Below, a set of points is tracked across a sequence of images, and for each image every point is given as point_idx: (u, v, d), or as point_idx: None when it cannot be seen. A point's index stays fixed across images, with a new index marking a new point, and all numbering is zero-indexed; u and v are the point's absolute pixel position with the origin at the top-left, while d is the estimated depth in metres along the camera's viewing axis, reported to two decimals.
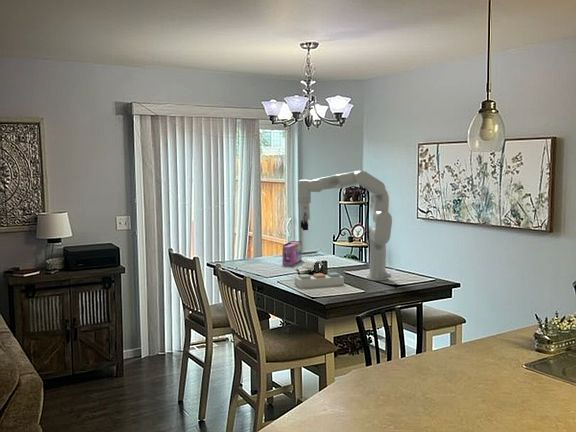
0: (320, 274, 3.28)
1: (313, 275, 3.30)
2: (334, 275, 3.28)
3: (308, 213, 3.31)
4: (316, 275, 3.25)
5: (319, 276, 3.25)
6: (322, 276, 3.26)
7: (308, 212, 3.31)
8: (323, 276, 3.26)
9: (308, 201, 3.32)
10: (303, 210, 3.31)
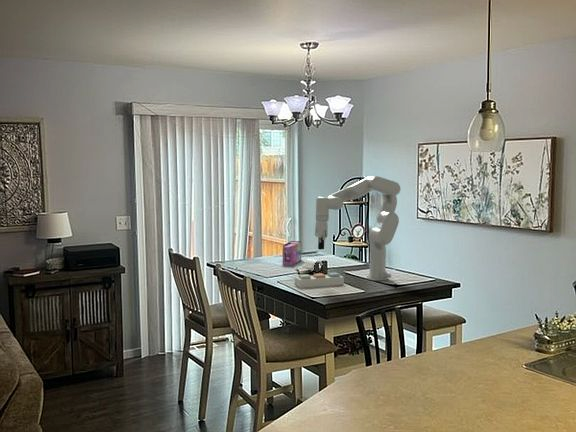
0: (320, 274, 3.28)
1: (313, 275, 3.30)
2: (334, 275, 3.28)
3: None
4: (316, 275, 3.25)
5: (319, 276, 3.25)
6: (322, 276, 3.26)
7: None
8: (323, 276, 3.26)
9: None
10: None
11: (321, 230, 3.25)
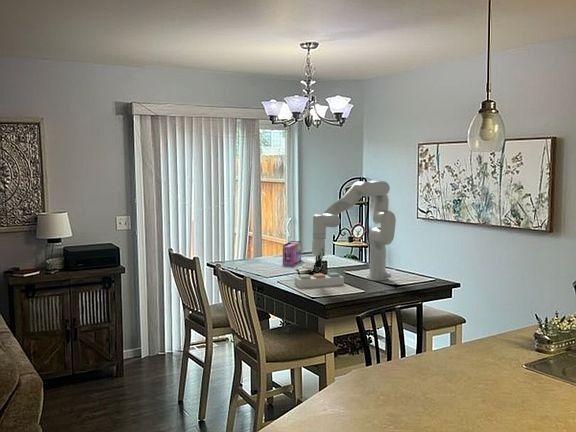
0: (320, 274, 3.28)
1: (313, 275, 3.30)
2: (334, 275, 3.28)
3: None
4: (316, 275, 3.25)
5: (319, 276, 3.25)
6: (322, 276, 3.26)
7: None
8: (323, 276, 3.26)
9: None
10: None
11: (318, 248, 3.21)
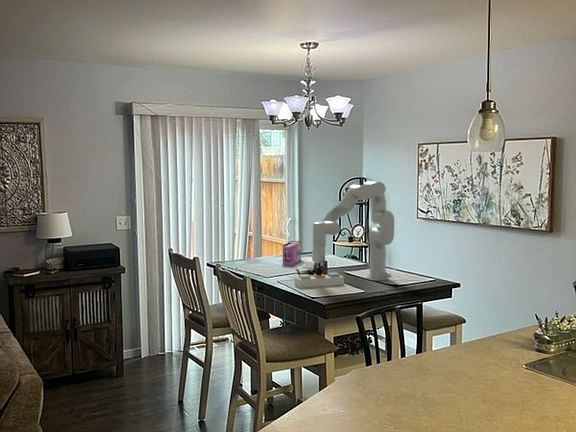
0: None
1: (313, 275, 3.30)
2: (334, 275, 3.28)
3: None
4: (316, 275, 3.25)
5: (319, 276, 3.25)
6: (322, 276, 3.26)
7: None
8: (323, 276, 3.26)
9: None
10: None
11: (319, 256, 3.22)
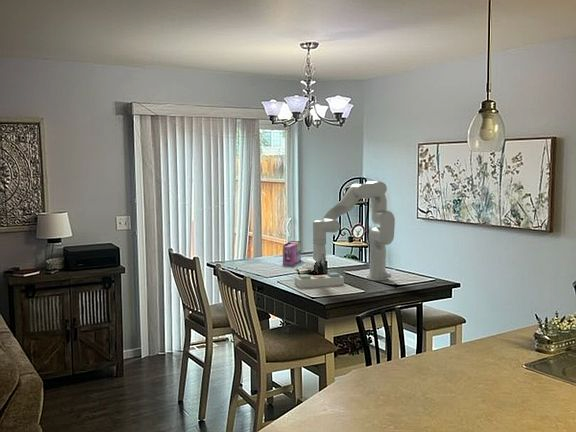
0: (320, 276, 3.28)
1: None
2: (334, 275, 3.28)
3: None
4: (316, 277, 3.25)
5: None
6: None
7: None
8: None
9: None
10: None
11: (319, 254, 3.22)
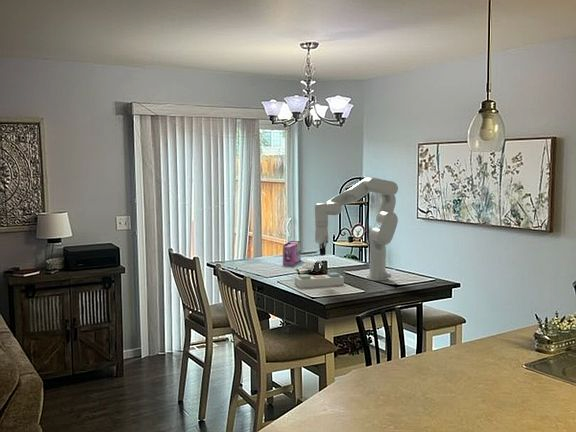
0: (320, 276, 3.28)
1: None
2: (334, 275, 3.28)
3: None
4: (316, 277, 3.25)
5: None
6: None
7: None
8: None
9: None
10: None
11: (322, 236, 3.26)
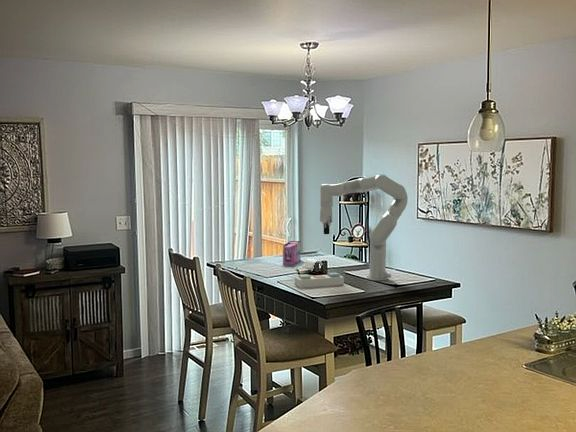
0: (320, 276, 3.28)
1: None
2: (334, 275, 3.28)
3: None
4: (316, 277, 3.25)
5: None
6: None
7: None
8: None
9: None
10: None
11: (326, 216, 3.40)
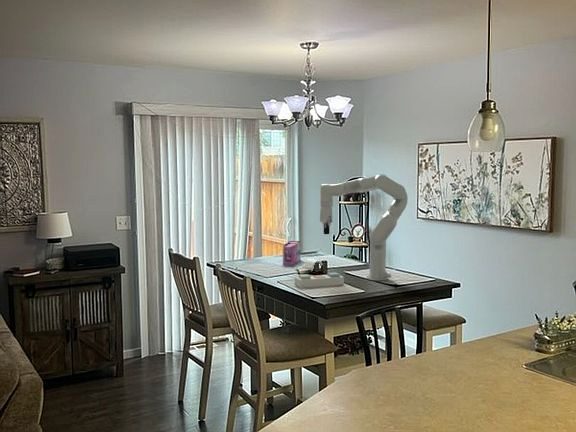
0: (320, 276, 3.28)
1: None
2: (334, 275, 3.28)
3: None
4: (316, 277, 3.25)
5: None
6: None
7: None
8: None
9: None
10: None
11: (326, 216, 3.40)
